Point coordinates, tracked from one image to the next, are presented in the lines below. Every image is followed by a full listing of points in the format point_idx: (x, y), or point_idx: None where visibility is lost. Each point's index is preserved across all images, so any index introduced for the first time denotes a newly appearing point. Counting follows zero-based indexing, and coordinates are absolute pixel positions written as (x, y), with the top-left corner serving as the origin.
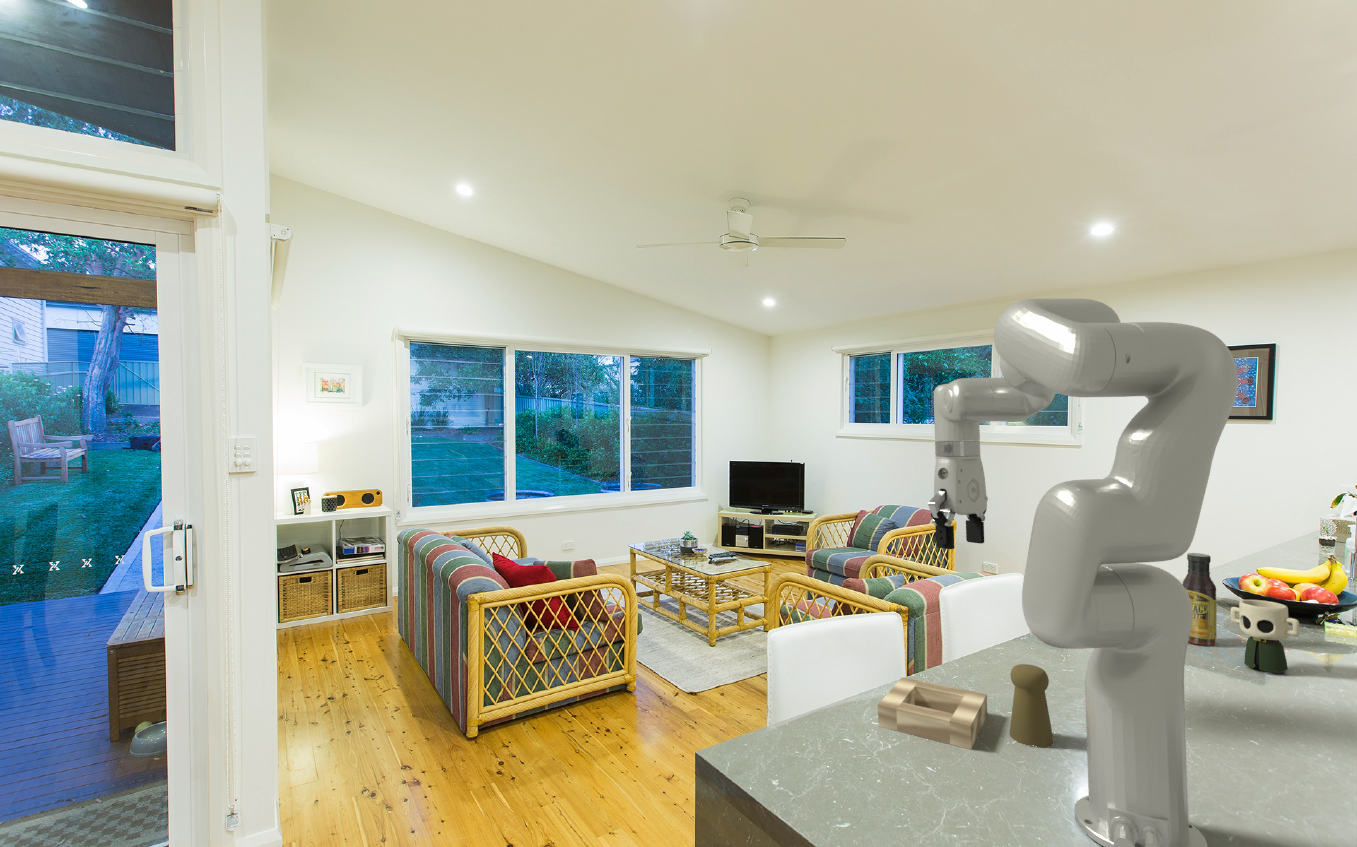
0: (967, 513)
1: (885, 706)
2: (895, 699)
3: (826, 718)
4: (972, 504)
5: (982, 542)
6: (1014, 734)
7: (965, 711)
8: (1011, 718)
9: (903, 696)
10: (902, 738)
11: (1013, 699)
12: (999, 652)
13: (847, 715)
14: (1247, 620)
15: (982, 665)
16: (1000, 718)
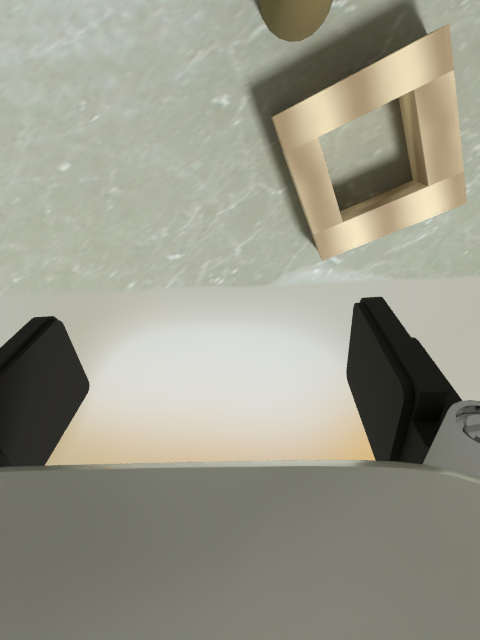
0: (285, 463)
1: (464, 190)
2: (424, 200)
3: (474, 256)
4: (118, 623)
5: (52, 316)
6: (330, 6)
7: (386, 82)
8: (318, 19)
9: (401, 202)
10: (465, 141)
11: (321, 4)
12: (16, 283)
13: (443, 247)
14: None
15: (91, 263)
16: (263, 92)
